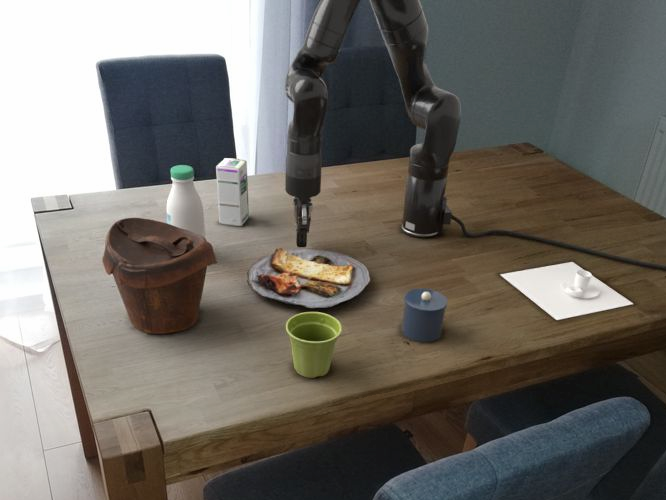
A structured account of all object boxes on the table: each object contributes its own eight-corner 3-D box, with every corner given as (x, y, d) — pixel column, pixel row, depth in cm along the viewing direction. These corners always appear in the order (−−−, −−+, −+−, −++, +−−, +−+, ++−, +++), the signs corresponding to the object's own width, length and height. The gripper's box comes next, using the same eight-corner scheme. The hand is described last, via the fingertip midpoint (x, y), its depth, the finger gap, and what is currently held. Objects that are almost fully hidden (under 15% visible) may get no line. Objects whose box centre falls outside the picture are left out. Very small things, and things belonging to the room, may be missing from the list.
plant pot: (346, 360, 127) (349, 318, 122) (328, 390, 119) (330, 347, 115) (297, 348, 129) (298, 307, 124) (276, 376, 122) (276, 334, 117)
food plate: (227, 295, 144) (226, 279, 142) (278, 249, 162) (278, 235, 160) (342, 325, 136) (343, 309, 134) (382, 273, 155) (384, 259, 153)
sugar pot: (436, 319, 140) (442, 281, 135) (447, 342, 133) (453, 302, 129) (396, 320, 139) (401, 281, 134) (405, 343, 132) (410, 303, 128)
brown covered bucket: (226, 336, 131) (223, 248, 121) (113, 349, 126) (99, 257, 116) (212, 289, 145) (208, 206, 135) (110, 299, 140) (97, 213, 130)
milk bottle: (213, 254, 158) (208, 166, 147) (193, 268, 152) (186, 177, 141) (184, 246, 160) (177, 159, 149) (163, 259, 155) (154, 170, 143)
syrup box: (241, 226, 170) (240, 168, 162) (218, 223, 171) (215, 164, 163) (249, 217, 175) (248, 159, 167) (226, 214, 176) (223, 156, 168)
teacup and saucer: (573, 303, 148) (578, 286, 146) (550, 285, 154) (554, 268, 152) (607, 296, 151) (612, 279, 149) (582, 279, 157) (587, 262, 155)
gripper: (324, 182, 145) (321, 259, 155) (318, 160, 156) (315, 233, 166) (287, 182, 144) (286, 259, 154) (283, 159, 155) (282, 233, 165)
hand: (301, 245), depth 160 cm, fingers closed
